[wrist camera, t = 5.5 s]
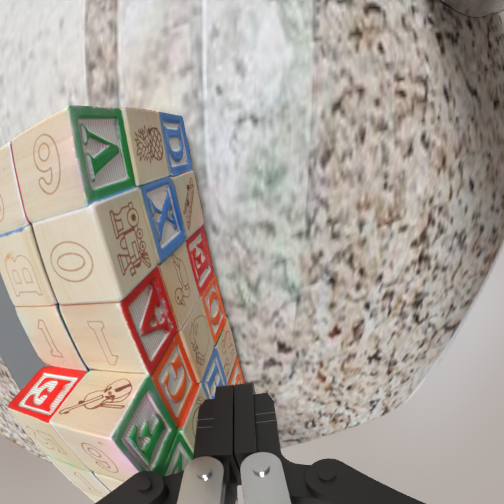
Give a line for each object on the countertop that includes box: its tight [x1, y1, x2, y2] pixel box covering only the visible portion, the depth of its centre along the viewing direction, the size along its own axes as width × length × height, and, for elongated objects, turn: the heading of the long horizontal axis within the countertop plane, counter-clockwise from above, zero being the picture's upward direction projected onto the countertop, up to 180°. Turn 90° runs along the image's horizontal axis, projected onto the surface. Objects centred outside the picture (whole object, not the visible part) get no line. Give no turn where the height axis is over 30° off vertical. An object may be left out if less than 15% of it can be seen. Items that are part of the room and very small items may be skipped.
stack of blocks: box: [0, 106, 245, 503], centre depth 14 cm, size 21×6×12 cm, turn 10°
